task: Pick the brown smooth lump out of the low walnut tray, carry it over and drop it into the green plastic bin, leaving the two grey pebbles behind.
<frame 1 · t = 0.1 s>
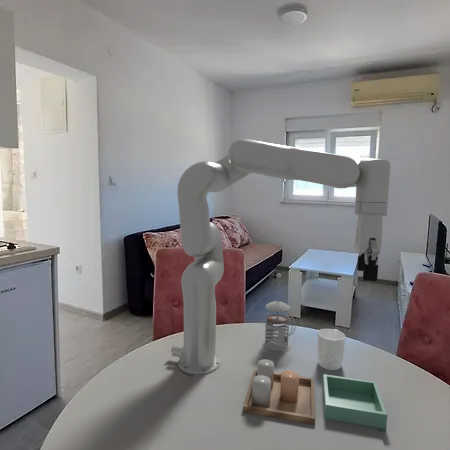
hand: (366, 275, 86), 31 cm above the table, fingers open, 9 cm apart
pebble b: (261, 403, 82), point 1 cm above the table, touching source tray
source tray: (280, 398, 85), on the table
white cup: (329, 366, 101), on the table
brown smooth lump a: (288, 397, 84), point 1 cm above the table, touching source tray
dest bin: (351, 407, 82), on the table
pebble c: (265, 384, 90), point 1 cm above the table, touching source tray
french press: (278, 347, 113), on the table
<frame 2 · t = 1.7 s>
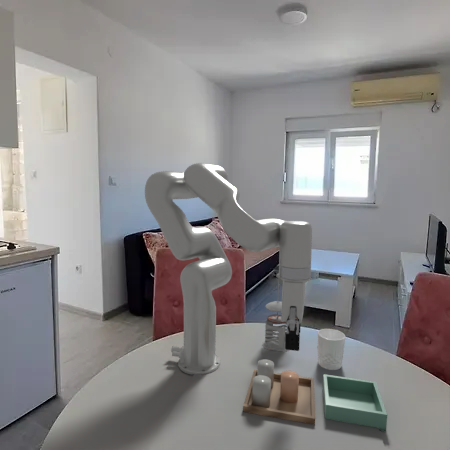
hand: (293, 340, 82), 16 cm above the table, fingers open, 9 cm apart
nothing on the table moved.
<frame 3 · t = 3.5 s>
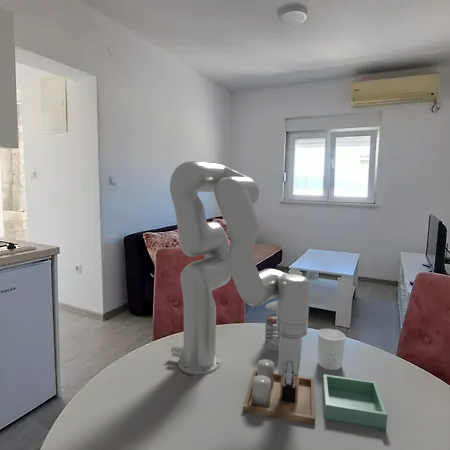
hand: (289, 394, 84), 2 cm above the table, fingers closed on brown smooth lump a, 4 cm apart
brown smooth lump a: (288, 397, 84), point 1 cm above the table, touching gripper, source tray
everything else where it was.
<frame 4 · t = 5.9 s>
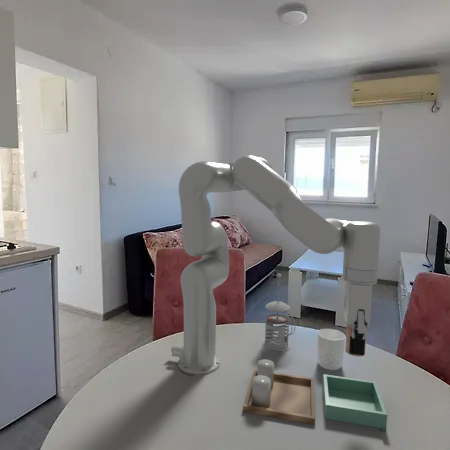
hand: (355, 348, 80), 15 cm above the table, fingers closed on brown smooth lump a, 4 cm apart
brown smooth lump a: (355, 351, 80), point 14 cm above the table, touching gripper
everything else where it was.
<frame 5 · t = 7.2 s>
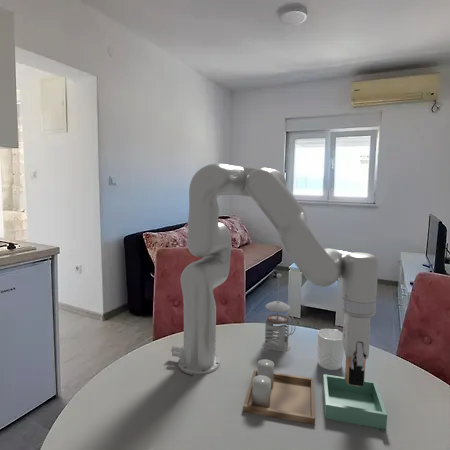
hand: (354, 377, 81), 8 cm above the table, fingers closed on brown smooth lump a, 4 cm apart
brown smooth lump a: (354, 381, 81), point 7 cm above the table, touching gripper
everything else where it was.
when the fingers open (3 cm above the table, at t = 8.4 s): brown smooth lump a drops 2 cm, resting on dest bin.
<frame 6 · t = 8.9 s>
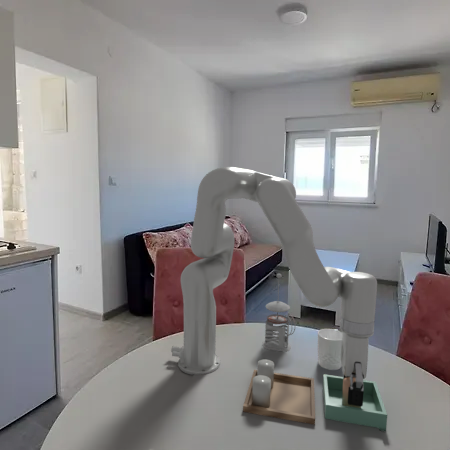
hand: (352, 392, 81), 4 cm above the table, fingers open, 9 cm apart
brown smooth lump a: (351, 405, 82), point 1 cm above the table, touching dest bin
everything else where it was.
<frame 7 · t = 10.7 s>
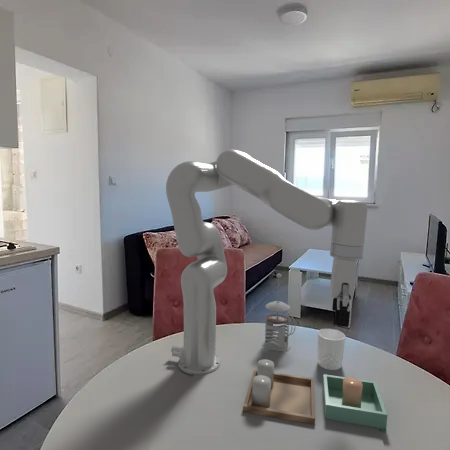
hand: (339, 318, 84), 21 cm above the table, fingers open, 9 cm apart
nothing on the table moved.
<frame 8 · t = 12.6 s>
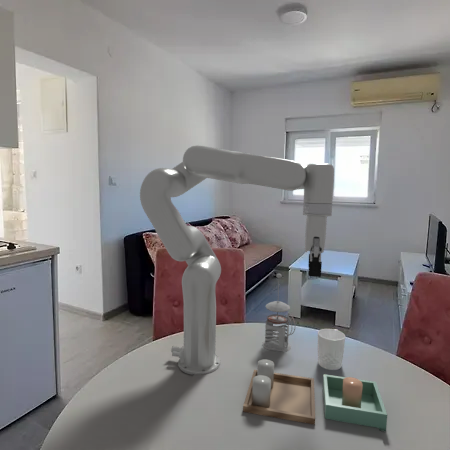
hand: (314, 271, 92), 30 cm above the table, fingers open, 9 cm apart
nothing on the table moved.
at the end: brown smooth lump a inside the target area on the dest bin (0.1 cm from its centre), point 0.6 cm above the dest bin's base; the gripper is holding nothing; pebble b inside the target area on the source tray (6.0 cm from its centre), point 0.6 cm above the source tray's base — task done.
